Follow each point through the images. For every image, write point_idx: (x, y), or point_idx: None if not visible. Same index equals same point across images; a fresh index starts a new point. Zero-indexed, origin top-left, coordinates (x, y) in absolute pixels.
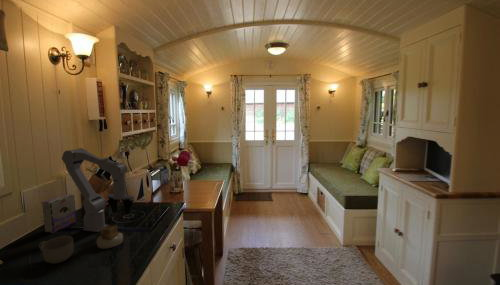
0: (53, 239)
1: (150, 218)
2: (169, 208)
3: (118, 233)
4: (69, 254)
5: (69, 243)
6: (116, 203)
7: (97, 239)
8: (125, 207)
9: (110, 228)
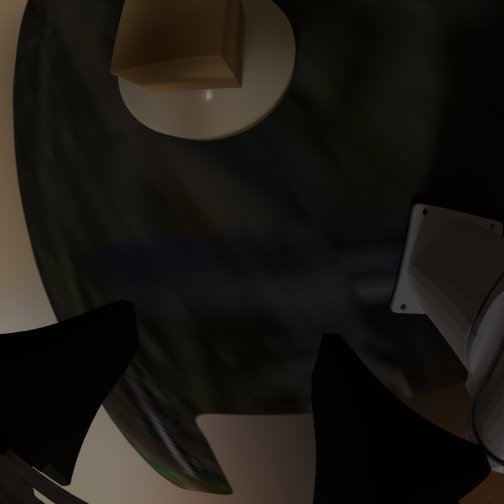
0: None
1: (184, 404)
2: (178, 466)
3: (172, 118)
4: None
5: None
6: (319, 471)
7: (274, 9)
8: (52, 333)
9: (139, 5)
